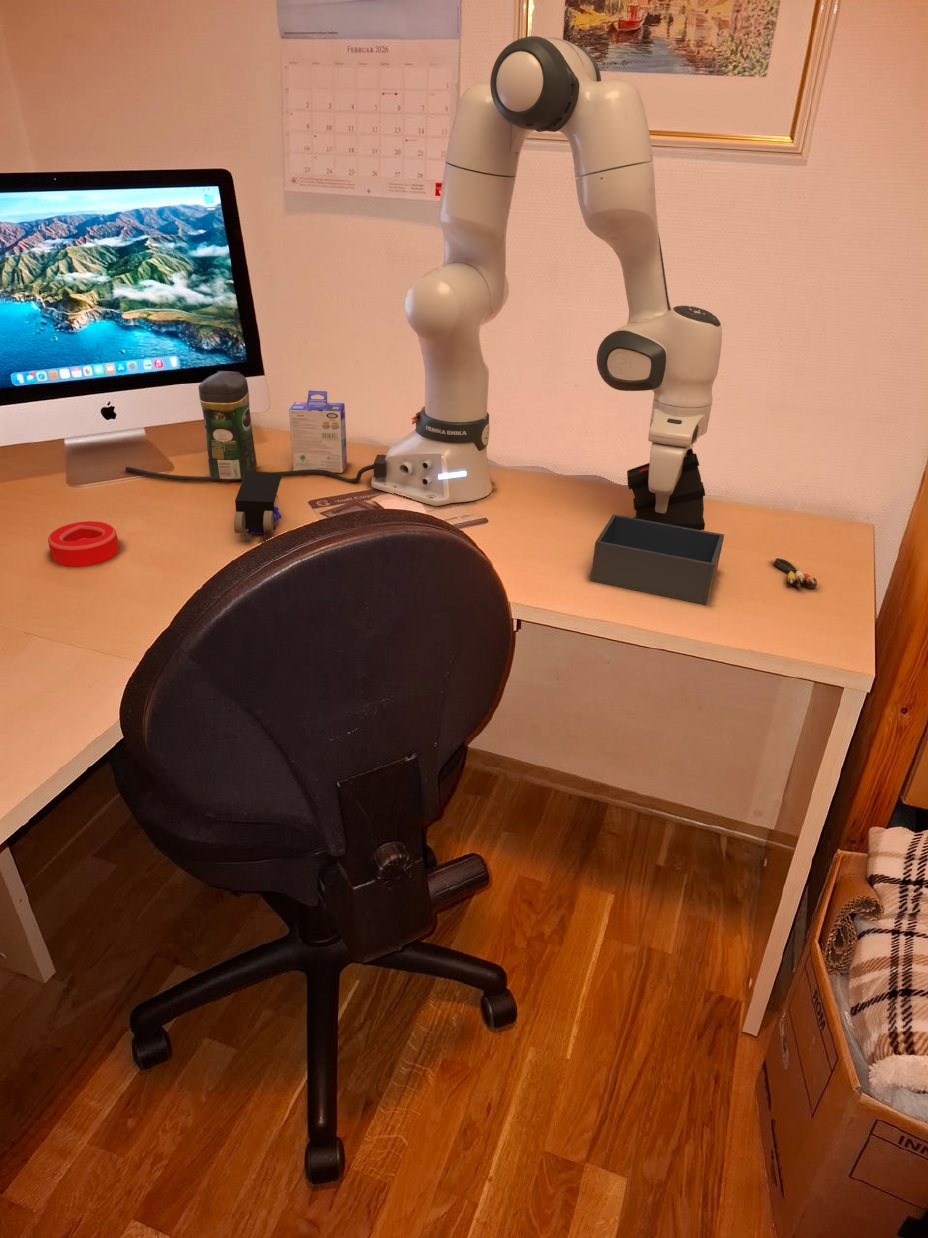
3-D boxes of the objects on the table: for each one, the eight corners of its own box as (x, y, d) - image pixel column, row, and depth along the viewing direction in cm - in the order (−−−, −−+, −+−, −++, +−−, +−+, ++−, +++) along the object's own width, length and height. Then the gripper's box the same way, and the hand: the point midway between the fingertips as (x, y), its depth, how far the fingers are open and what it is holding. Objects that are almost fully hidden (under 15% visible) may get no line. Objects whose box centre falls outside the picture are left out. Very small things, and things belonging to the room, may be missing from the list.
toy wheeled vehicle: (278, 554, 135) (286, 506, 146) (273, 513, 130) (282, 467, 142) (235, 554, 134) (246, 506, 146) (229, 513, 129) (241, 467, 141)
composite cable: (770, 562, 135) (774, 548, 133) (801, 564, 135) (804, 550, 133) (788, 592, 126) (791, 578, 125) (820, 594, 126) (824, 579, 125)
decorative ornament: (98, 533, 136) (94, 515, 134) (131, 551, 131) (128, 533, 129) (39, 552, 129) (35, 533, 128) (72, 572, 124) (67, 553, 123)
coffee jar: (221, 463, 164) (209, 366, 154) (261, 465, 163) (252, 368, 154) (204, 481, 155) (190, 380, 146) (246, 484, 155) (235, 383, 145)
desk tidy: (590, 580, 127) (595, 541, 124) (607, 550, 136) (612, 513, 133) (706, 605, 122) (714, 565, 119) (716, 572, 131) (724, 534, 128)
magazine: (721, 536, 138) (696, 454, 132) (643, 560, 143) (614, 482, 136) (719, 527, 142) (693, 446, 135) (642, 551, 146) (614, 474, 139)
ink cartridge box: (348, 463, 166) (345, 390, 158) (344, 473, 161) (341, 398, 154) (297, 461, 166) (292, 388, 158) (292, 472, 161) (286, 396, 154)
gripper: (671, 398, 141) (658, 476, 148) (646, 433, 124) (634, 520, 131) (709, 403, 139) (695, 482, 146) (690, 440, 122) (675, 527, 130)
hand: (666, 500), depth 139 cm, fingers open, 8 cm apart
